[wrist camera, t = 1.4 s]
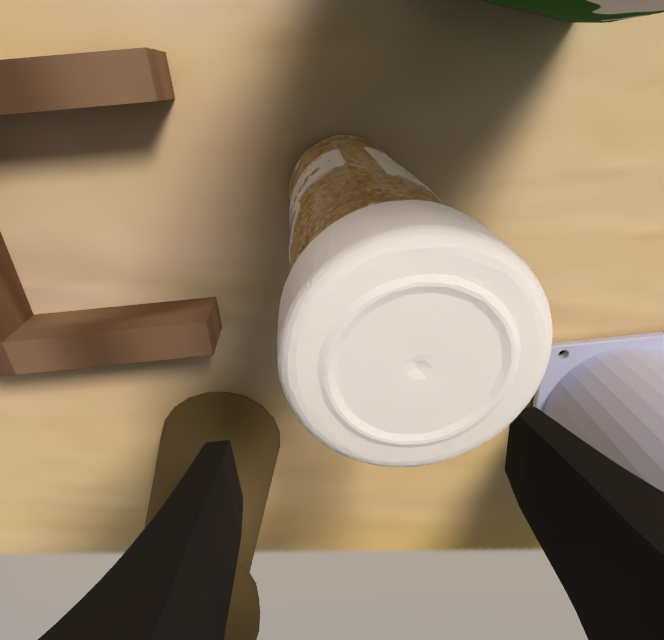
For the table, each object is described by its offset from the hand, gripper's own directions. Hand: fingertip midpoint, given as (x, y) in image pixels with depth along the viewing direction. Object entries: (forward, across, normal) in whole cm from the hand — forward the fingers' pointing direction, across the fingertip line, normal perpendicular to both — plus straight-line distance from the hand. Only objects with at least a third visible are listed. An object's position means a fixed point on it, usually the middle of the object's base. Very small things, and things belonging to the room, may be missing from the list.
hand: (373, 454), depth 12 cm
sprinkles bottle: (+11, 0, -4) cm, 12 cm away
